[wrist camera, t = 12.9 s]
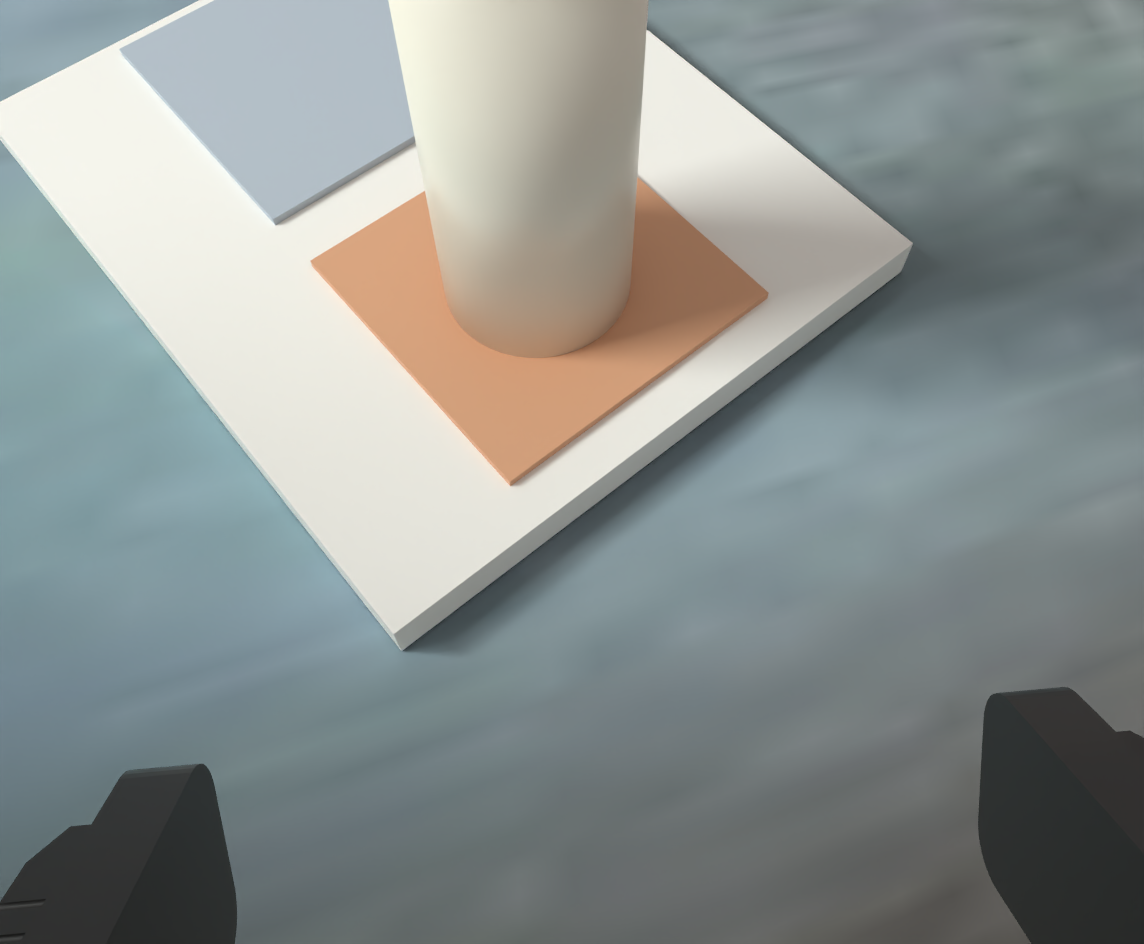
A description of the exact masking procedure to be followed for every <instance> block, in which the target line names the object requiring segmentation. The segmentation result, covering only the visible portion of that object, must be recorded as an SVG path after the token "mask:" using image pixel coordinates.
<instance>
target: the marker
mask: <svg viewBox="0 0 1144 944" xmlns="http://www.w3.org/2000/svg"><path fill="white" fill-rule="evenodd" d="M388 2H389V7H390V12H391V18H392V23H393V28H394V33H395V38H396V43H397V49H398V54H399V59H400V64H401V69H402V75H403V80H404V85H405V90H406V95H407V100H408V106H409V111H410V116H411V121H412V126H413V132H414V137H415V142H416V147H417V152H418V158H419V163H420V168H421V173H422V178H423V183H424V189H425V194H426V199H427V204H428V209H429V215H430V220H431V225H432V230H433V235H434V241H435V246H436V251H437V256H438V261H439V266H440V272H441V277H442V282H443V287H444V292H445V297H446V301H447V304H448V307H449V309H450V312H451V314H452V315H453V317H454V319H455V320H456V322H457V323H458V324H459V325H460V327H461V328H462V329H463V330H464V331H465V332H466V333H467V334H468V335H470V336H471V337H472V338H473V339H475V340H476V341H478V342H479V343H481V344H483V345H484V346H486V347H488V348H490V349H493V350H495V351H498V352H501V353H504V354H508V355H512V356H518V357H525V358H544V357H553V356H558V355H563V354H567V353H570V352H573V351H576V350H578V349H580V348H583V347H585V346H587V345H589V344H590V343H592V342H594V341H595V340H597V339H598V338H600V337H601V336H602V335H603V334H605V333H606V332H607V331H608V330H609V329H610V328H611V327H612V326H613V325H614V324H615V322H616V321H617V320H618V318H619V317H620V315H621V314H622V312H623V310H624V308H625V306H626V303H627V300H628V297H629V292H630V286H631V271H632V255H633V239H634V223H635V207H636V191H637V175H638V159H639V143H640V127H641V111H642V95H643V79H644V63H645V47H646V31H647V15H648V0H388Z"/></svg>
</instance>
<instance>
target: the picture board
mask: <svg viewBox="0 0 1144 944" xmlns="http://www.w3.org/2000/svg"><path fill="white" fill-rule="evenodd" d="M0 140H1V141H2V143H3V144H4V145H5V147H6V148H7V149H8V150H9V152H10V153H11V154H12V155H13V157H14V158H15V159H16V161H17V162H18V163H19V164H20V166H21V167H22V168H23V169H24V171H25V172H26V173H27V175H28V176H29V177H30V178H31V180H32V181H33V182H34V183H35V185H36V186H37V187H38V189H39V190H40V191H41V192H42V194H43V195H44V196H45V197H46V199H47V200H48V201H49V203H50V204H51V205H52V206H53V208H54V209H55V210H56V211H57V213H58V214H59V215H60V217H61V218H62V219H63V220H64V222H65V223H66V224H67V225H68V227H69V228H70V229H71V231H72V232H73V233H74V234H75V236H76V237H77V238H78V240H79V241H80V242H81V243H82V245H83V246H84V247H85V248H86V250H87V251H88V252H89V254H90V255H91V256H92V257H93V259H94V260H95V261H96V262H97V264H98V265H99V266H100V268H101V269H102V270H103V271H104V273H105V274H106V275H107V276H108V278H109V279H110V280H111V282H112V283H113V284H114V285H115V287H116V288H117V289H118V290H119V292H120V293H121V294H122V296H123V297H124V298H125V299H126V301H127V302H128V303H129V304H130V306H131V307H132V308H133V310H134V311H135V312H136V313H137V315H138V316H139V317H140V318H141V320H142V321H143V322H144V324H145V325H146V326H147V327H148V329H149V330H150V331H151V332H152V334H153V335H154V336H155V338H156V339H157V340H158V341H159V343H160V344H161V345H162V347H163V348H164V349H165V350H166V352H167V353H168V354H169V355H170V357H171V358H172V359H173V361H174V362H175V363H176V364H177V366H178V367H179V368H180V369H181V371H182V372H183V373H184V375H185V376H186V377H187V378H188V380H189V381H190V382H191V383H192V385H193V386H194V387H195V389H196V390H197V391H198V392H199V394H200V395H201V396H202V397H203V399H204V400H205V401H206V403H207V404H208V405H209V406H210V408H211V409H212V410H213V411H214V413H215V414H216V415H217V417H218V418H219V419H220V420H221V422H222V423H223V424H224V425H225V427H226V428H227V429H228V431H229V432H230V433H231V434H232V436H233V437H234V438H235V440H236V441H237V442H238V443H239V445H240V446H241V447H242V448H243V450H244V451H245V452H246V454H247V455H248V456H249V457H250V459H251V460H252V461H253V462H254V464H255V465H256V466H257V468H258V469H259V470H260V471H261V473H262V474H263V475H264V476H265V478H266V479H267V480H268V482H269V483H270V484H271V485H272V487H273V488H274V489H275V490H276V492H277V493H278V494H279V496H280V497H281V498H282V499H283V501H284V502H285V503H286V504H287V506H288V507H289V508H290V510H291V511H292V512H293V513H294V515H295V516H296V517H297V518H298V520H299V521H300V522H301V524H302V525H303V526H304V527H305V529H306V530H307V531H308V532H309V534H310V535H311V536H312V538H313V539H314V540H315V541H316V543H317V544H318V545H319V547H320V548H321V549H322V550H323V552H324V553H325V554H326V555H327V557H328V558H329V559H330V561H331V562H332V563H333V564H334V566H335V567H336V568H337V569H338V571H339V572H340V573H341V575H342V576H343V577H344V578H345V580H346V581H347V582H348V583H349V585H350V586H351V587H352V589H353V590H354V591H355V592H356V594H357V595H358V596H359V597H360V599H361V600H362V601H363V603H364V604H365V605H366V606H367V608H368V609H369V610H370V611H371V613H372V614H373V615H374V617H375V618H376V619H377V620H378V622H379V623H380V624H381V625H382V627H383V628H384V629H385V631H386V632H387V633H388V634H389V636H390V637H391V638H392V640H393V641H394V642H395V643H396V645H397V646H398V647H399V648H400V650H401V651H403V650H404V649H405V648H406V647H408V646H409V645H410V644H412V643H413V642H414V641H416V640H417V639H418V638H420V637H421V636H422V635H424V634H425V633H426V632H428V631H429V630H430V629H431V628H433V627H434V626H435V625H437V624H438V623H439V622H441V621H442V620H443V619H445V618H446V617H447V616H449V615H450V614H451V613H453V612H454V611H455V610H457V609H458V608H459V607H460V606H462V605H463V604H464V603H466V602H467V601H468V600H470V599H471V598H472V597H474V596H475V595H476V594H478V593H479V592H480V591H482V590H483V589H484V588H485V587H487V586H488V585H489V584H491V583H492V582H493V581H495V580H496V579H497V578H499V577H500V576H501V575H503V574H504V573H505V572H507V571H508V570H509V569H510V568H512V567H513V566H514V565H516V564H517V563H518V562H520V561H521V560H522V559H524V558H525V557H526V556H528V555H529V554H530V553H532V552H533V551H534V550H536V549H537V548H538V547H539V546H541V545H542V544H543V543H545V542H546V541H547V540H549V539H550V538H551V537H553V536H554V535H555V534H557V533H558V532H559V531H561V530H562V529H563V528H564V527H566V526H567V525H568V524H570V523H571V522H572V521H574V520H575V519H576V518H578V517H579V516H580V515H582V514H583V513H584V512H586V511H587V510H588V509H590V508H591V507H592V506H593V505H595V504H596V503H597V502H599V501H600V500H601V499H603V498H604V497H605V496H607V495H608V494H609V493H611V492H612V491H613V490H615V489H616V488H617V487H618V486H620V485H621V484H622V483H624V482H625V481H626V480H628V479H629V478H630V477H632V476H633V475H634V474H636V473H637V472H638V471H640V470H641V469H642V468H643V467H645V466H646V465H647V464H649V463H650V462H651V461H653V460H654V459H655V458H657V457H658V456H659V455H661V454H662V453H663V452H665V451H666V450H667V449H669V448H670V447H671V446H672V445H674V444H675V443H676V442H678V441H679V440H680V439H682V438H683V437H684V436H686V435H687V434H688V433H690V432H691V431H692V430H694V429H695V428H696V427H697V426H699V425H700V424H701V423H703V422H704V421H705V420H707V419H708V418H709V417H711V416H712V415H713V414H715V413H716V412H717V411H719V410H720V409H721V408H723V407H724V406H725V405H726V404H728V403H729V402H730V401H732V400H733V399H734V398H736V397H737V396H738V395H740V394H741V393H742V392H744V391H745V390H746V389H748V388H749V387H750V386H751V385H753V384H754V383H755V382H757V381H758V380H759V379H761V378H762V377H763V376H765V375H766V374H767V373H769V372H770V371H771V370H773V369H774V368H775V367H776V366H778V365H779V364H780V363H782V362H783V361H784V360H786V359H787V358H788V357H790V356H791V355H792V354H794V353H795V352H796V351H798V350H799V349H800V348H802V347H803V346H804V345H805V344H807V343H808V342H809V341H811V340H812V339H813V338H815V337H816V336H817V335H819V334H820V333H821V332H823V331H824V330H825V329H827V328H828V327H829V326H830V325H832V324H833V323H834V322H836V321H837V320H838V319H840V318H841V317H842V316H844V315H845V314H846V313H848V312H849V311H850V310H852V309H853V308H854V307H856V306H857V305H858V304H859V303H861V302H862V301H863V300H865V299H866V298H867V297H869V296H870V295H871V294H873V293H874V292H875V291H877V290H878V289H879V288H881V287H882V286H883V285H884V284H886V283H887V282H888V281H890V280H891V279H892V278H894V277H895V276H896V275H898V274H899V273H900V272H901V271H902V269H903V266H904V264H905V262H906V259H907V257H908V255H909V252H910V250H911V247H912V245H913V243H912V242H911V241H909V240H908V239H907V238H906V237H904V236H903V235H902V234H901V233H899V232H898V231H897V230H896V229H895V228H893V227H892V226H891V225H890V224H888V223H887V222H886V221H885V220H883V219H882V218H881V217H880V216H878V215H877V214H876V213H875V212H873V211H872V210H871V209H870V208H868V207H867V206H866V205H865V204H863V203H862V202H861V201H860V200H858V199H857V198H856V197H855V196H853V195H852V194H851V193H850V192H848V191H847V190H846V189H845V188H843V187H842V186H841V185H840V184H839V183H837V182H836V181H835V180H834V179H832V178H831V177H830V176H829V175H827V174H826V173H825V172H824V171H822V170H821V169H820V168H819V167H817V166H816V165H815V164H814V163H812V162H811V161H810V160H809V159H807V158H806V157H805V156H804V155H802V154H801V153H800V152H799V151H797V150H796V149H795V148H794V147H792V146H791V145H790V144H789V143H787V142H786V141H785V140H784V139H783V138H781V137H780V136H779V135H778V134H776V133H775V132H774V131H773V130H771V129H770V128H769V127H768V126H766V125H765V124H764V123H763V122H761V121H760V120H759V119H758V118H756V117H755V116H754V115H753V114H751V113H750V112H749V111H748V110H746V109H745V108H744V107H743V106H741V105H740V104H739V103H738V102H736V101H735V100H734V99H733V98H731V97H730V96H729V95H728V94H727V93H725V92H724V91H723V90H722V89H720V88H719V87H718V86H717V85H715V84H714V83H713V82H712V81H710V80H709V79H708V78H707V77H705V76H704V75H703V74H702V73H700V72H699V71H698V70H697V69H695V68H694V67H693V66H692V65H690V64H689V63H688V62H687V61H685V60H684V59H683V58H682V57H680V56H679V55H678V54H677V53H675V52H674V51H673V50H672V49H671V48H669V47H668V46H667V45H666V44H664V43H663V42H662V41H661V40H659V39H658V38H657V37H656V36H654V35H653V34H652V33H651V32H649V31H648V30H647V31H646V47H645V63H644V79H643V95H642V111H641V127H640V143H639V159H638V175H637V191H636V207H635V223H634V239H633V255H632V271H631V286H630V292H629V297H628V300H627V303H626V306H625V308H624V310H623V312H622V314H621V315H620V317H619V318H618V320H617V321H616V322H615V324H614V325H613V326H612V327H611V328H610V329H609V330H608V331H607V332H606V333H605V334H603V335H602V336H601V337H600V338H598V339H597V340H595V341H594V342H592V343H590V344H589V345H587V346H585V347H583V348H580V349H578V350H576V351H573V352H570V353H567V354H563V355H558V356H553V357H544V358H525V357H518V356H512V355H508V354H504V353H501V352H498V351H495V350H493V349H490V348H488V347H486V346H484V345H483V344H481V343H479V342H478V341H476V340H475V339H473V338H472V337H471V336H470V335H468V334H467V333H466V332H465V331H464V330H463V329H462V328H461V327H460V325H459V324H458V323H457V322H456V320H455V319H454V317H453V315H452V314H451V312H450V309H449V307H448V304H447V301H446V297H445V292H444V287H443V282H442V277H441V272H440V266H439V261H438V256H437V251H436V246H435V241H434V235H433V230H432V225H431V220H430V215H429V209H428V204H427V199H426V194H425V189H424V183H423V178H422V173H421V168H420V163H419V158H418V152H417V147H416V142H415V137H414V132H413V126H412V121H411V116H410V111H409V106H408V100H407V95H406V90H405V85H404V80H403V75H402V69H401V64H400V59H399V54H398V49H397V43H396V38H395V33H394V28H393V23H392V18H391V12H390V7H389V2H388V0H199V1H197V2H195V3H193V4H191V5H189V6H187V7H185V8H183V9H181V10H179V11H177V12H176V13H174V14H172V15H170V16H168V17H166V18H164V19H162V20H160V21H158V22H156V23H154V24H152V25H150V26H148V27H146V28H144V29H142V30H140V31H138V32H136V33H134V34H132V35H130V36H128V37H126V38H125V39H123V40H121V41H119V42H117V43H115V44H113V45H111V46H109V47H107V48H105V49H103V50H101V51H99V52H97V53H95V54H93V55H91V56H89V57H87V58H85V59H83V60H81V61H79V62H77V63H75V64H73V65H72V66H70V67H68V68H66V69H64V70H62V71H60V72H58V73H56V74H54V75H52V76H50V77H48V78H46V79H44V80H42V81H40V82H38V83H36V84H34V85H32V86H30V87H28V88H26V89H24V90H22V91H21V92H19V93H17V94H15V95H13V96H11V97H9V98H7V99H5V100H3V101H1V102H0Z"/></svg>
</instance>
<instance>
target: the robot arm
mask: <svg viewBox="0 0 1144 944" xmlns="http://www.w3.org/2000/svg"><path fill="white" fill-rule="evenodd" d="M978 829H979V839H980V845H981V850H982V854H983V858H984V862H985V865H986V868H987V871H988V873H989V876H990V878H991V880H992V882H993V884H994V886H995V888H996V889H997V891H998V892H999V894H1000V895H1001V897H1002V899H1003V900H1004V902H1005V903H1006V905H1007V906H1008V908H1009V909H1010V911H1011V912H1012V914H1013V916H1014V917H1015V919H1016V920H1017V922H1018V923H1019V925H1020V926H1021V928H1022V930H1023V931H1024V933H1025V934H1026V936H1027V937H1028V939H1029V940H1030V942H1031V943H1032V944H1144V738H1143V737H1141V736H1139V735H1137V734H1135V733H1133V732H1131V731H1121V732H1115V731H1114V730H1113V729H1112V728H1111V727H1110V726H1109V725H1108V724H1107V723H1106V722H1105V721H1104V720H1103V719H1102V718H1101V717H1100V716H1099V715H1098V714H1097V713H1096V712H1095V711H1094V710H1093V709H1092V708H1091V707H1090V706H1089V705H1088V704H1087V703H1086V702H1085V701H1084V700H1083V699H1082V698H1081V697H1080V696H1079V695H1078V694H1077V693H1076V692H1074V691H1073V690H1072V689H1070V688H1066V687H1060V688H1049V689H1038V690H1027V691H1016V692H1005V693H996V694H993V695H991V696H990V698H989V699H988V701H987V703H986V707H985V711H984V723H983V742H982V760H981V779H980V797H979V816H978ZM236 925H237V904H236V893H235V887H234V882H233V877H232V872H231V867H230V862H229V857H228V852H227V847H226V842H225V837H224V832H223V827H222V822H221V817H220V812H219V807H218V802H217V797H216V792H215V787H214V783H213V779H212V776H211V773H210V771H209V769H208V768H207V767H206V766H205V765H204V764H192V765H181V766H171V767H160V768H149V769H138V770H129V771H126V772H125V773H124V774H123V775H122V776H121V777H120V779H119V780H118V782H117V783H116V785H115V787H114V788H113V790H112V792H111V793H110V795H109V797H108V798H107V800H106V802H105V803H104V805H103V806H102V808H101V810H100V811H99V813H98V815H97V816H96V818H95V820H94V821H93V823H92V825H81V826H71V827H69V828H68V829H67V830H66V831H64V832H63V833H62V834H61V835H60V836H58V837H57V838H56V839H55V840H53V841H52V842H51V843H50V844H49V845H47V846H46V847H45V848H44V849H42V850H41V851H40V852H39V853H38V854H36V855H35V856H34V857H33V858H32V859H30V860H29V861H28V862H27V863H26V864H25V865H24V867H23V868H22V870H21V871H20V873H19V874H18V876H17V877H16V879H15V880H14V882H13V883H12V885H11V886H10V888H9V889H8V891H7V892H6V894H5V895H4V897H3V898H2V900H1V901H0V944H235V937H236Z"/></svg>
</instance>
